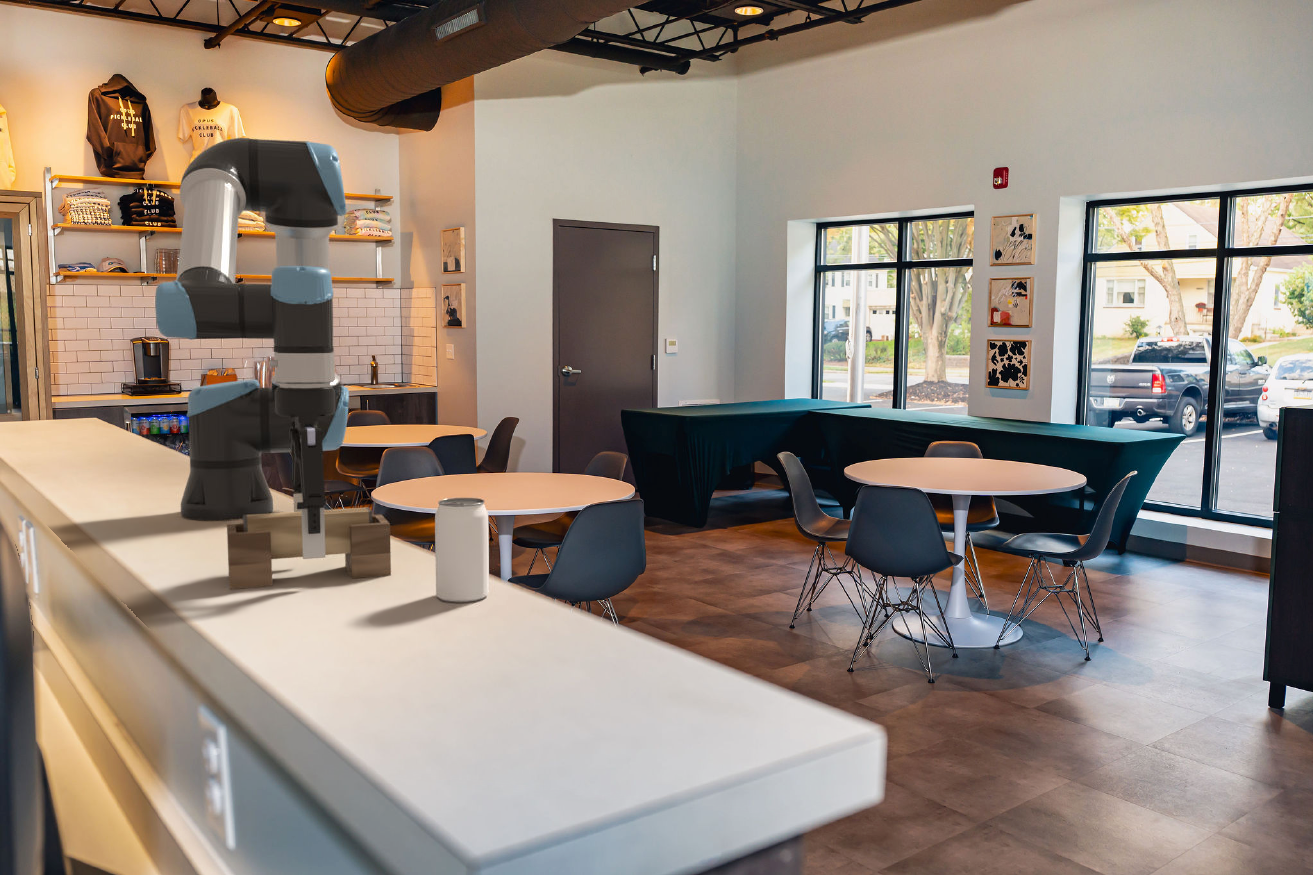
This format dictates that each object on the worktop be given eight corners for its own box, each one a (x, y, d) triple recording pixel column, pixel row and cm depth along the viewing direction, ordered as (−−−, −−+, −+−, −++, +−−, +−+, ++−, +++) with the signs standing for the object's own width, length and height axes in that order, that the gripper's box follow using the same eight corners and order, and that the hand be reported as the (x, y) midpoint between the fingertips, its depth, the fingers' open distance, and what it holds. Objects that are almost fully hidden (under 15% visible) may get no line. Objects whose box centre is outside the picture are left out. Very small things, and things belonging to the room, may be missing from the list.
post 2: (391, 574, 138) (389, 523, 137) (352, 578, 136) (351, 526, 135) (382, 563, 144) (381, 514, 144) (345, 566, 142) (344, 516, 142)
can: (477, 605, 123) (476, 506, 122) (427, 601, 125) (425, 504, 123) (496, 591, 130) (495, 498, 128) (448, 588, 131) (447, 496, 130)
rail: (244, 556, 135) (243, 515, 134) (369, 546, 141) (368, 507, 141) (245, 561, 132) (244, 519, 131) (372, 551, 138) (371, 511, 138)
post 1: (228, 576, 136) (226, 524, 136) (268, 572, 138) (267, 521, 138) (230, 589, 130) (228, 534, 129) (272, 585, 132) (270, 531, 131)
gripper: (268, 381, 144) (273, 533, 146) (281, 391, 122) (286, 570, 124) (324, 380, 147) (328, 529, 149) (346, 390, 125) (350, 564, 127)
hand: (309, 548), depth 137 cm, fingers open, 11 cm apart
